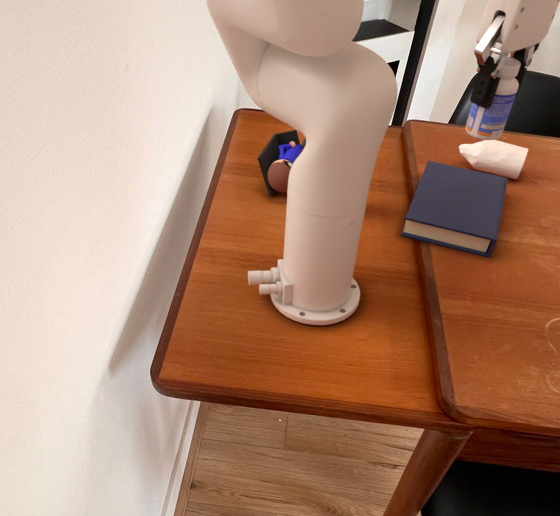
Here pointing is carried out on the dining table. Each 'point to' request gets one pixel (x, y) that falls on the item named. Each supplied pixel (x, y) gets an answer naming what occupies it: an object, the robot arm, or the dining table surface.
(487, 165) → the roll
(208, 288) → the dining table surface
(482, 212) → the book
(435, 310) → the dining table surface
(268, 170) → the character figurine
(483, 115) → the pill bottle
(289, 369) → the dining table surface
